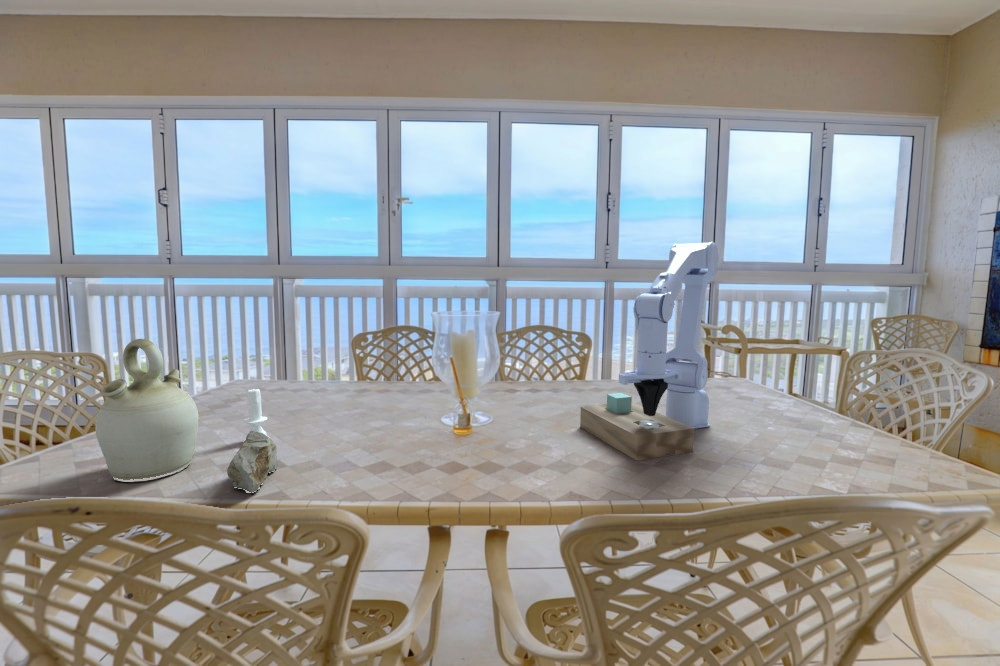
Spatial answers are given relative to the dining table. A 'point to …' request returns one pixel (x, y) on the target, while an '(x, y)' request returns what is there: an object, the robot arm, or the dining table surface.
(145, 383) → the jug
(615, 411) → the peg square
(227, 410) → the dining table surface
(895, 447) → the dining table surface
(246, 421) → the candle
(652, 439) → the socket block
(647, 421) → the peg round
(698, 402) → the robot arm
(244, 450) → the rock
